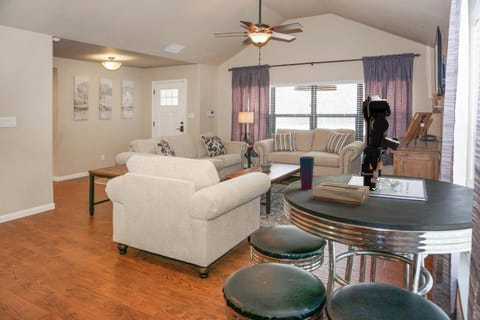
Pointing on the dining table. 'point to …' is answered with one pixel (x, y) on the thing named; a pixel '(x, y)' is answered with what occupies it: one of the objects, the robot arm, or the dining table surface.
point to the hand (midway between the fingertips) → (375, 169)
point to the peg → (376, 172)
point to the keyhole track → (341, 193)
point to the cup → (306, 172)
